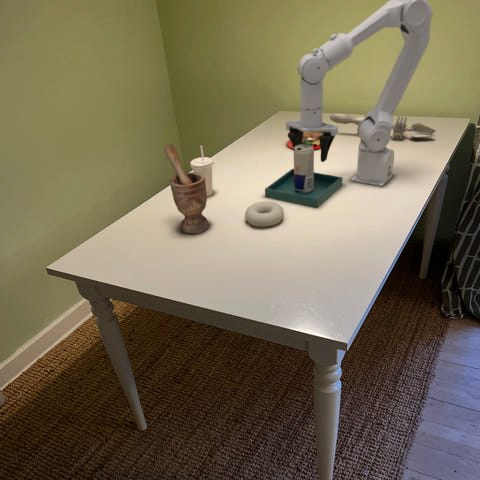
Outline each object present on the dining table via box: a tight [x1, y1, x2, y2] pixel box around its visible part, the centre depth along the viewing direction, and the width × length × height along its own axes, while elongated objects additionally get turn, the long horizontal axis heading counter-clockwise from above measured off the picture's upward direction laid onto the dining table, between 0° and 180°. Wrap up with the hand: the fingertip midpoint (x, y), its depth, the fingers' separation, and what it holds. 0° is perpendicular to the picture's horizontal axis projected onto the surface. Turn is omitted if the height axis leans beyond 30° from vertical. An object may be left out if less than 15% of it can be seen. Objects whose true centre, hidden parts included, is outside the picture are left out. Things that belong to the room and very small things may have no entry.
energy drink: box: [293, 144, 315, 194], centre depth 131 cm, size 5×5×12 cm
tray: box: [264, 168, 344, 209], centre depth 134 cm, size 16×15×2 cm
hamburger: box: [286, 132, 323, 150], centre depth 161 cm, size 14×14×6 cm
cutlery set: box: [329, 113, 437, 140], centre depth 159 cm, size 8×35×8 cm
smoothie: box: [190, 145, 214, 197], centre depth 135 cm, size 6×6×14 cm
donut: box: [244, 200, 285, 228], centre depth 123 cm, size 10×4×10 cm
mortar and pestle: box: [163, 143, 210, 234], centre depth 119 cm, size 12×9×20 cm
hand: (311, 158), depth 133 cm, fingers open, 7 cm apart
